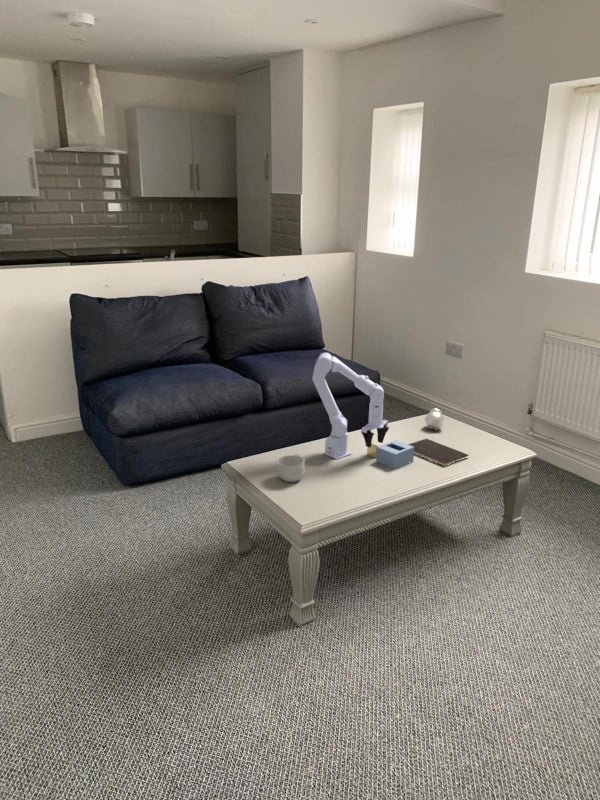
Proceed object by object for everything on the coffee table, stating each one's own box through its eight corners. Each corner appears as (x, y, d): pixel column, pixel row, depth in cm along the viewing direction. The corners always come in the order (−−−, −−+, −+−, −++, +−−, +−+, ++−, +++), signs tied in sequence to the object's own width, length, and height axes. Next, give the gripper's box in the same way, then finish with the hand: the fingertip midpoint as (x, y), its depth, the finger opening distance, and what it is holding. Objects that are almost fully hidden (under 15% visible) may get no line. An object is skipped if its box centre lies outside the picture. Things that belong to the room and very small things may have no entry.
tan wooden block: (375, 458, 270) (376, 448, 268) (367, 454, 273) (367, 444, 272) (379, 456, 271) (380, 446, 270) (371, 453, 275) (371, 443, 274)
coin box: (394, 468, 259) (395, 454, 257) (376, 461, 266) (377, 446, 264) (413, 461, 267) (414, 446, 265) (394, 454, 274) (395, 440, 272)
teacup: (295, 487, 242) (296, 467, 239) (271, 480, 247) (271, 461, 244) (313, 473, 253) (313, 455, 251) (289, 468, 258) (289, 449, 256)
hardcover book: (444, 468, 262) (444, 463, 261) (402, 450, 279) (403, 445, 278) (468, 459, 272) (468, 454, 271) (426, 442, 289) (427, 438, 288)
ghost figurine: (447, 428, 305) (449, 408, 302) (437, 433, 298) (439, 413, 295) (431, 424, 311) (432, 404, 308) (420, 429, 304) (422, 409, 301)
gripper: (371, 420, 259) (370, 451, 263) (394, 412, 268) (392, 442, 273) (358, 416, 264) (357, 446, 268) (381, 408, 273) (380, 438, 278)
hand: (374, 444), depth 271 cm, fingers open, 7 cm apart
